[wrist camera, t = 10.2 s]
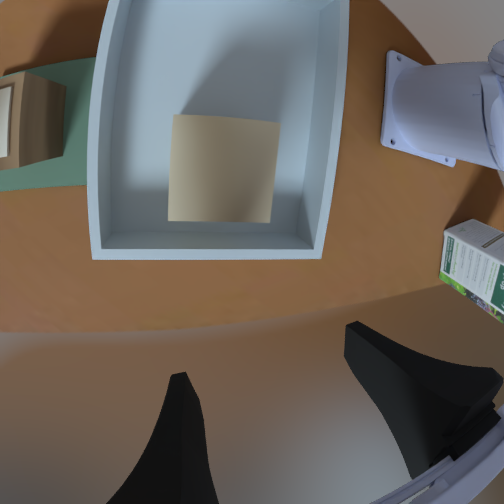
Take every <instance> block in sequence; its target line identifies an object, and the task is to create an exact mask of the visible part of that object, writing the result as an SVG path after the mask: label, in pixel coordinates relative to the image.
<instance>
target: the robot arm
mask: <svg viewBox="0 0 504 504" xmlns="http://www.w3.org/2000/svg"><path fill="white" fill-rule="evenodd" d="M397 57H398V60H397ZM380 139H381V144H382V145H383V146H386V147H389V148H393V149H397V150H400V151H404V152H407V153H411V154H414V155H417V156H420V157H424V158H427V159H430V160H433V161H436V162H439V163H442V164H445V165H447V166H450V167H453V166H454V165H455V163H456V159H459V160H464V161H468V162H471V163H475V164H479V165H483V166H486V167H490V168H493V169H497V170H500V171H504V40H502V41H499V42H498V43H496V44H495V45H494V46H493V48H492V50H491V52H490V54H489V56H488V62H462V63H448V64H437V65H428V66H423V65H421V64H419V63H418V62H416V61H414V60H412V59H410V58H408V57H406V56H404V55H402V54H400V53H398V52H396V51H393V50H391V51H388V52H387V63H386V84H385V98H384V110H383V120H382V130H381V138H380ZM391 139H392V144H391ZM445 158H446V160H445ZM344 357H345V359H346V361H347V363H348V365H349V367H350V369H351V370H352V372H353V374H354V375H355V377H356V378H357V380H358V381H359V382H360V384H361V385H362V386H363V388H364V389H365V391H366V392H367V393H368V395H369V396H370V397H371V399H372V400H373V402H374V403H375V404H376V406H377V407H378V409H379V410H380V412H381V413H382V415H383V417H384V419H385V420H386V422H387V424H388V426H389V428H390V430H391V432H392V434H393V436H394V438H395V440H396V442H397V444H398V446H399V449H400V451H401V453H402V455H403V458H404V460H405V463H406V466H407V468H408V471H409V474H410V477H411V478H412V481H410V482H408V483H407V484H405V485H403V486H402V487H400V488H398V489H396V490H395V491H393V492H391V493H389V494H387V495H385V496H383V497H382V498H380V499H378V500H376V501H374V502H372V503H370V504H399V503H401V502H403V501H405V500H406V499H408V498H410V497H411V496H413V495H415V494H416V493H418V492H419V491H421V490H423V489H424V488H426V487H427V486H429V485H430V484H431V485H430V487H429V489H428V490H426V491H425V492H423V493H422V494H420V495H419V496H417V497H416V498H414V499H413V500H412V501H411V502H410V503H409V504H468V503H469V502H470V501H471V500H472V499H473V498H474V497H475V496H476V495H477V494H479V493H480V492H481V491H482V490H483V489H484V488H485V487H486V486H487V485H488V484H489V483H490V482H491V481H492V480H493V479H494V478H495V477H496V476H497V474H498V473H499V472H500V471H501V470H502V469H503V468H504V404H503V405H502V406H501V407H500V408H499V409H498V411H497V412H496V411H495V410H494V409H493V408H494V407H495V404H494V403H493V402H492V400H493V399H494V397H495V396H496V394H497V393H498V391H499V389H500V388H501V386H502V384H503V378H502V376H500V375H499V374H498V373H497V372H496V371H495V370H494V369H493V368H487V367H472V366H465V365H459V364H454V363H450V362H446V361H441V360H438V359H435V358H432V357H429V356H426V355H423V354H420V353H418V352H416V351H414V350H411V349H409V348H407V347H405V346H403V345H400V344H398V343H396V342H395V341H393V340H391V339H389V338H387V337H385V336H383V335H381V334H380V333H378V332H376V331H374V330H373V329H371V328H369V327H368V326H366V325H364V324H362V323H360V322H359V321H356V322H353V323H350V324H347V325H346V331H345V349H344ZM106 504H219V503H218V499H217V495H216V492H215V488H214V485H213V481H212V477H211V473H210V469H209V463H208V455H207V446H206V438H205V428H204V419H203V414H202V410H201V405H200V401H199V398H198V396H197V394H196V392H195V390H194V388H193V386H192V384H191V382H190V380H189V378H188V376H187V373H186V372H182V373H177V374H173V375H171V377H170V381H169V385H168V389H167V393H166V396H165V400H164V403H163V406H162V409H161V412H160V415H159V418H158V420H157V423H156V426H155V428H154V431H153V433H152V435H151V438H150V440H149V442H148V444H147V446H146V448H145V450H144V452H143V454H142V456H141V458H140V459H139V461H138V463H137V464H136V466H135V467H134V469H133V471H132V472H131V474H130V475H129V476H128V478H127V479H126V481H125V482H124V483H123V485H122V486H121V487H120V489H119V490H118V491H117V492H116V493H115V494H114V496H113V497H112V498H111V499H110V500H109V501H108V502H107V503H106Z"/></svg>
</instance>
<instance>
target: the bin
mask: <svg viewBox="0 0 504 504" xmlns="http://www.w3.org/2000/svg"><path fill="white" fill-rule="evenodd" d="M348 34H349V0H109V3H108V6H107V10H106V14H105V18H104V22H103V26H102V31H101V35H100V40H99V45H98V50H97V56H96V62H95V68H94V75H93V82H92V90H91V99H90V110H89V123H88V142H87V197H88V216H89V230H90V241H91V251H92V259H95V260H228V259H321V255H322V250H323V245H324V240H325V234H326V229H327V223H328V217H329V211H330V205H331V199H332V193H333V186H334V180H335V173H336V166H337V158H338V151H339V143H340V134H341V125H342V116H343V106H344V95H345V84H346V70H347V55H348ZM173 114H179V115H204V116H220V117H232V118H243V119H253V120H262V121H270V122H277V123H281V128H280V137H279V146H278V155H277V164H276V173H275V182H274V191H273V199H272V208H271V216H270V223H255V222H209V221H168V198H169V171H170V152H171V137H172V124H173Z"/></svg>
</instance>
